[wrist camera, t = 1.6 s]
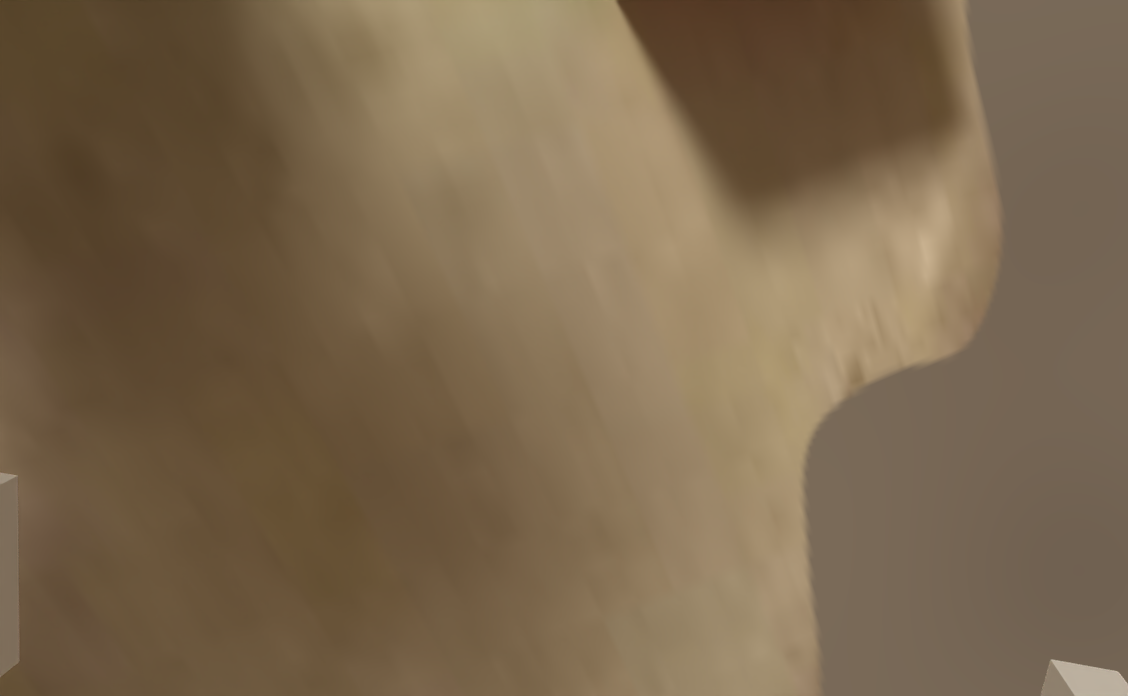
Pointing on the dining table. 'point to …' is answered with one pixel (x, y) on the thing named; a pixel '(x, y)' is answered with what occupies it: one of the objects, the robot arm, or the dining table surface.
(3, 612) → the robot arm
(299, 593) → the dining table surface
